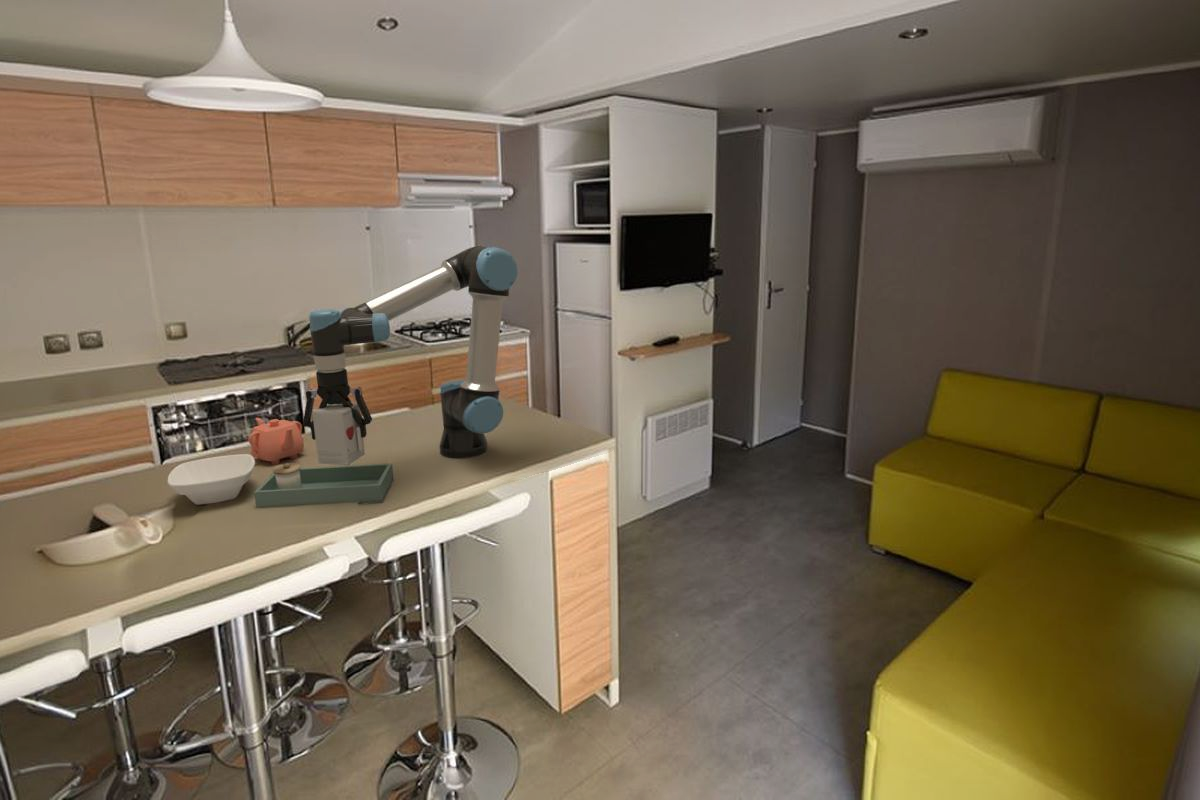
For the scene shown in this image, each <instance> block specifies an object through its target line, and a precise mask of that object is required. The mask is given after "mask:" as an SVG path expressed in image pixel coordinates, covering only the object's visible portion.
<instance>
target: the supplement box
mask: <svg viewBox="0 0 1200 800" xmlns="http://www.w3.org/2000/svg"><path fill="white" fill-rule="evenodd" d="M351 403H352V404H353V406H352V408H354V409H356V410H357V411H358V412H359V413H360V414H361V411H360V408H359V406H358V404H357V402H351ZM318 408H319V407H318ZM318 408H314V409H312V415H311V416H312V421H313V423H314V431H315V438H316V440H315V446H316V452H317V453H316V455H317V461H318V464H319V465H320V464H322V465H324V464H325V465H335V466H336V465H337V466H350V464H352V463H354V462H356V461H357V460H359V459H361V458H362V457H363V456H364V455H366V452H365V451H366V450H365V447H364V448H363V449H362V450H359V445H358V437H357V428H356V427H357V426H358V423H357V422H356V421H355V419H354V418H353V416H352V410H351V408H349V407H344V406H343V405H342V404H332V405H328V404H327V406H326V407H325V408H319V409H318Z"/></svg>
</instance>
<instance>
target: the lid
mask: <svg viewBox="0 0 1200 800" xmlns="http://www.w3.org/2000/svg"><path fill="white" fill-rule="evenodd" d="M300 468H302V467H301V464H300V463H296V462H290V463H289V462H287V463H283V464H280V465H277V466H275V467H273V469H272V473H274V474H279V475H283V474H290V473H294V472H296V471H298V470H300Z"/></svg>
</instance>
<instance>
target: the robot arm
mask: <svg viewBox="0 0 1200 800" xmlns="http://www.w3.org/2000/svg"><path fill="white" fill-rule="evenodd" d="M517 276H518V266H517V263H516V260H515V258H514V257H513V256H512V255H511V253H509V252H508V251H507V250H505V249H503V248H500V247H495V246H481V245H480V246H479V245H477V246H476V245H475V246H473V247H469V248H467V249H465V250H463V251H461V252H459V253H457V254H455V255H452V256H451V257H449V258H448V259H447V258H446V259H445V260H443V261H441V264H440V266H439V267H436V268H434V269H432V270H430V271H428V272H426V273H423V274H422V275H420V276H418V277H416V278H413V279H411V280H409V281H407V282H404V283H403V284H401V285H399V286H397V287H395V288H394V287H393V288H392V289H390V290H388V291H386V292H384V293H382V294H379V295H377V296H375V297H373V298H371V299H369V300H366V301H365V302H363V303H361V304H358V305H356V306H354V307H346V308H344V309H342V310H341V311H339V310H338V309H335V308H334V309H333V308H332V309H331V308H330V309H329V308H327V309H317V310H312V312H310V313H309V316H308V317H309V318H308V319H309V331H310V337H311V338H310V339H311V344H312V351H313V352H312V353H313V361H314V366H315V367H314V368H315V370H316V373H315V375H316V383H317V388H316V389H312V388H310V389H308V390H307V391H306V392H305V397H306V404H305V409H304V414H303V418H302V419H303V421H302V427H305V428H307V427H308V428H309V429H310V434H311V439H312V440H315V441H316V438H315V431H314V423H313V420H312V421H311V419H312V416H313V415H312V411H313V410H314V403H315V398H316V397H317V396H318V397H319V398H320V399H321V402H320V404H319V406H318V409H319V408H325V407H326V406H327V404H328V405H332V404H342V405H343V406H344V407H349V408H351V410H352V416H353V418H354V419H355V421H356V422H357V423H358V426H357V427H356V428H357V437H358V445H359V450H362V449H363V448H364V449H365V440H364V438H366V436H367V427H366V426H367V425H369V424H371V422H372V421H373V417H372V415H371V413H370V410H369V408H368V406H367V404H366V401H365V399H364V397H363V391H362V390H363V389H362V387H360V386H358V387H357V388H354V387H353V388H352V387H350V385H349V380H348V379H349V378H348V370H347V369H346V367H347V364H346V363H347V362H346V354H345V346H351V345H358V344H370V343H371V344H372V343H379V342H384V341H387V340H389V338H390V334H391V327H390V322H389V321H391V320H393V319H395V318H398V317H399V316H402V315H404V314H406V313H409V311H410V312H411V310H414V309H416V308H418V307H420V306H422V305H424V304H427V303H428V302H430V301H433V300H434V299H436V298H438V297H440V296H443V295H444V294H447V293H449V292H450V291H453V290H454V291H461V290H463V289H465V288H468V289H467V290H468V294H469V296H470V297H471V298H472V304H471V305H472V307H471V317H470V318H471V319H470V327H469V328H470V330H469V341H468V353H467V363H466V372H465V373H466V375H465V379H456V380H455V379H454V380H450V381H446V382H443V383H442V384H441V385H440V393H439V396H440V401H441V402H440V403H441V413H442V425H443V431H442V434H441V435H442V436H441V439H440V443H439V453H440V455H441V456H442V457H446V458H451V459H466V458H473V457H476V456H479V455H482V454H484V453H485V452H487V451H488V448H489V447H488V441H487V437H486V436H485V434H488V433H490V432H492V431H494V430H495V429H496V428H497V427H498V426H499V425H500V424H501V423H502V422H501V421H502V420H503V417H504V408H503V405H502V403H501V401H500V400H499V397H500V387H499V386H498V384H497V383H496V376H497V375H496V374H497V365H498V353H499V343H500V334H501V333H500V332H501V324H502V314H503V312H502V311H503V303H504V302H505V301H506V300H507V299H508V298H509V296H510V288H511V287H512V286H513V285H514V284H515V282H516V280H517ZM350 394H352V396H353V397H354V398H355V401H356V402H355V403H357V404H358V406H359V408H360V413H359V412H358V411H357V410H356V409H354V408H352V406H353V404H352V403H353V402H352V401H351V399H350V397H349V395H350ZM361 414H362V415H361Z"/></svg>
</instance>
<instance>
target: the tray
mask: <svg viewBox="0 0 1200 800" xmlns="http://www.w3.org/2000/svg"><path fill="white" fill-rule="evenodd" d="M393 469H394V468H393V463H391V462H390V463H372V464H355V465H337V466H336V465H335V466H319V467H316V466H315V467H303V468H302V467H301V468H300V470H299V471H300V478H301V484H302V488H296V489H277V483H276V476H275V474H274V473H273V472H272V473H271V474H270V475H269V476H268V478H266V480H264V481H263V482H262V484H260V485H259V486H258V488H256V489H255V491H253V495H254V502H255V507H256V508H269V507H285V506H287V507H288V506H302V505H303V506H304V505H318V504H319V505H321V504H337V503H354V502H357V505H361V504H362V505H365V504H364V503H368V504H379V503H383V502H384V500H385V498H386V496H387V494H388V491H389V490H390V488H391V486H392V484H393V482H394V480H395V477H394V470H393Z"/></svg>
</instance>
